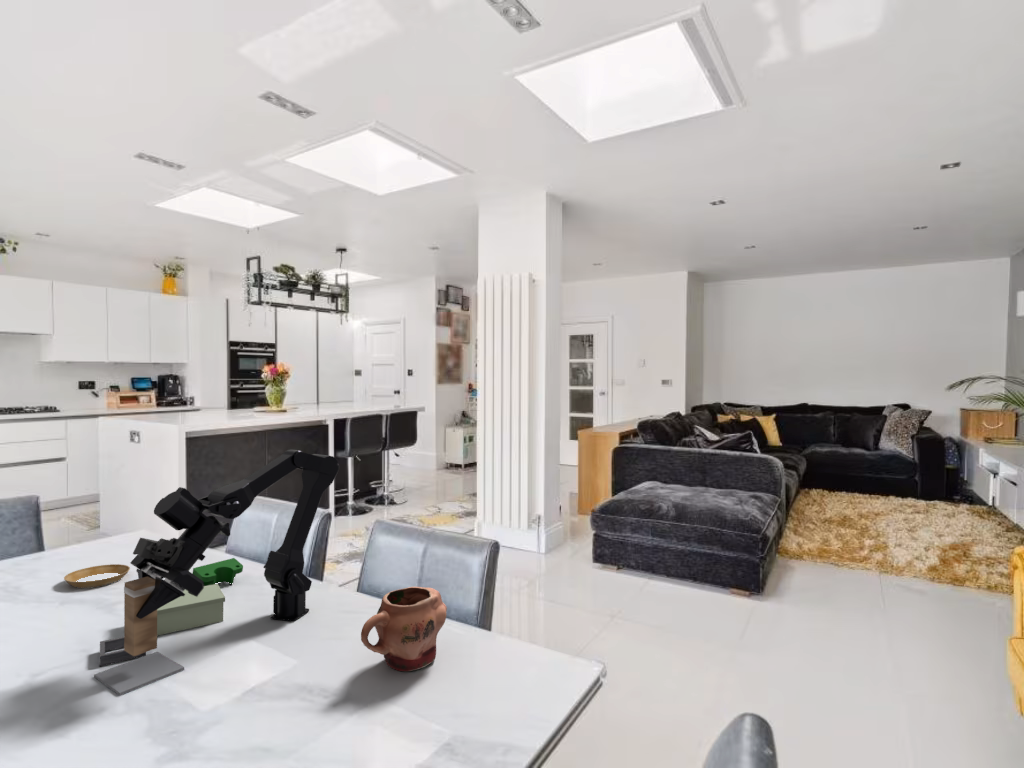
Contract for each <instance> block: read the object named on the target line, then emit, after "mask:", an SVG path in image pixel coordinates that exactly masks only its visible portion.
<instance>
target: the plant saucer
mask: <svg viewBox="0 0 1024 768" xmlns="http://www.w3.org/2000/svg"><path fill="white" fill-rule="evenodd" d="M130 569H131V568H130V566H129V565H126V564H119V563H118V564H113V563H112V564H111V563H110V564H101V565H94V566H90V567H85V568H81V569H78V570H74V571H72V572H70V573H67V574H66V575H65V576H64V577H63V580H64V581H65V582H66V583H68V584H69V585H70V586H71V587H74V588H76V587H78V589H92V588H91V587H93V588H98V587H97V586H100V587H103V586H102V585H105V586H108V585H107V584H109V585H111V584H110V583H112V584H114V583H113V582H115V583H117V582H119V581H121V580H122V579H123V578H124V577H125V576H126V575H127V574H128V572H129V571H130ZM104 573H118V574H120V575H118V576H114V577H111V578H107V579H102V580H95V581H86V582H78V581H77V580H79V579H81V578H85V577H88V576H92V575H97V574H104ZM121 578H122V579H121ZM118 580H119V581H118ZM76 581H77V582H76ZM116 581H117V582H116Z"/></svg>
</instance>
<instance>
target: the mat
mask: <svg viewBox="0 0 1024 768" xmlns="http://www.w3.org/2000/svg"><path fill="white" fill-rule="evenodd" d="M182 671H185V666H183V665H181V664H180V663H178V662H176V661H174V660H173V659H171V658H170V657H168V656H166V655H164V654H163V653H161V652H159V651H155V652H152V653H150V654H146V656H143V657H139V658H135V659H131V660H129V661H127V662H125V663H121V664H119V665H117V666H114V667H110V668H108V669H105V670H103V671H100V672H97V673H94V674H93V678H95V679H96V680H97V681H99V682H100V683H102V684H103V685H104V686H106V688H107V687H108V689H110V690H111V691H113V692H114V693H116V694H117V695H119V697H120V696H123V695H126V694H127V693H130V692H132V691H135V690H138V689H139V688H142V687H145V686H148V685H150V684H152V683H153V684H154V683H155V682H157V681H160V680H163V679H165V678H168V677H170V676H173V675H175V674H177V673H179V672H182Z"/></svg>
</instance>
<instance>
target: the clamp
mask: <svg viewBox="0 0 1024 768" xmlns="http://www.w3.org/2000/svg"><path fill="white" fill-rule="evenodd" d="M243 570H244V565H243V564H242V563H241V562H240V561H238V560H237V559H236V558H235V557H232V558H229V559H224V560H221V561H217V562H212V563H209V564H204V565H200V566H197V567H193V568H192V572H191V573H192V574H194V575H195V576H197V577H198V578H199V579H201V580H202V581H204V586H208V585H214V584H215V583H218V582H222V583H226V582H229V583H231V584H232V583H233V584H234V581H235V578H236V576H237V574H238V575H239V574H241V573H243ZM234 577H235V578H234ZM229 583H228V584H229Z"/></svg>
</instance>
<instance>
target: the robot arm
mask: <svg viewBox="0 0 1024 768" xmlns="http://www.w3.org/2000/svg"><path fill="white" fill-rule="evenodd" d="M297 469H298V470H302V472H301V480H302V489H301V492H300V494H299V496H298V498H299V499H298V501H297V502H296V503H297V504H296V505H295V506H296V507H295V509H294V512H293V514H292V516H291V519H290V522H289V526H288V528H287V530H286V533H285V535H284V538H283V542H282V544H281V546H280V547H279V548H277V550H276V551H274V550H270V551H269V553H268V556H267V561H266V563H265V564H264V565H263V566H262V567H263V569H264V572H263V576H264V577H265V580H266V581H267V582H268V583H269V585H270V588H271V589H273V590H274V595H273V605H272V606H273V607H272V608H273V614H272V615H270V619H271V620H278V621H279V620H280V621H285V622H286V621H288V622H296V621H297V620H299V618H301V617H303V616H304V615H305V614H307V613H309V612H310V608H307V607H306V600H307V599H306V598H307V597H306V596H307V595H306V594H307V592H308V591H310V589H311V587H312V582H313V581H312V580H311V579H310V578H308V577H307V576H306V575H305V574H304V573H303V572H304V567H305V557H304V556H305V555H304V548H305V545H306V542H307V539H308V536H309V534H310V531H311V527H312V525H313V523H314V522H313V521H314V519H315V516H316V514H317V510H318V508H319V505H320V502H321V499H322V496H323V494H324V492H325V491H326V490H327V489H328V488H329V487H330V486H331V485H332V484H333V482H334V481H335V478H336V477H337V474H338V472H339V470H340V464H339V462H338V459H337V458H336V457H334V456H332V455H325V454H320V453H319V454H318V453H313V454H310V453H307V452H303V451H302V450H297V449H287V450H284V452H283V453H282V454H281V455H279V456H278V457H276V458H274V459H273V460H272V461H270V462H268V463H267V464H265V465H264V466H262V467H260V468H259V469H258V470H256V471H253V473H251V474H250V475H249V476H248V475H247V476H246V477H245V478H244V479H241V480H238V481H236V482H233V483H229V484H226V485H224V486H221V487H219V488H217V489H214V490H213V491H211V492H210V493H209V494H208V495H207V496H203V497H200V498H196V497H195V496H194V495H193V494H192V493H191V492H190V491H189V490H188V489H187V488H186V487H182V486H180V487H177V489H176V490H175V491H173V492H171V493H168V494H167V495H166V496H164V497H162V498H161V499H160V500H159V501H158V502H157V504H155V507H154V508H153V514H154V515H155V516H157V517H158V518H159V519H161V520H162V521H163V522H164V523H166V524H168V525H169V526H170V527H172V528H173V529H175V531H182V530H184V531H183V532H182V533H181V534H180V536H179V537H178V538H176V537H172V538H170V539H164V538H163V537H162V538H160V539H159V540H154V539H149V538H145V537H139V540H138V541H137V544H136V546H135V548H134V550H133V552H132V554H133V555H136V556H135V557H134V558H133V559H132V560H131V562H129V563H130V565H132V566H134V567H135V568H136V573H137V576H138V577H137V579H140V578H143V577H147V576H148V577H150V578H152V579H155V588H154V590H153V591H152V593H151V594H150V596H149V597H148V598H147V600H146V601H145V603H144V604H143V606H142V607H141V608H140V610H139V612H138V613H137V615H136V617H138V618H140V619H142V618H143V617H145V616H147V615H149V614H150V613H152V612H154V611H155V610H157V609H159V608H160V607H162V606H164V605H166V604H167V603H169V602H171V601H173V600H175V599H177V598H179V597H181V596H184V595H185V594H184V593H183V591H184V590H187V591H188V593H189V594H191V595H194V596H196V597H197V596H198V595H199V594H200V592H201V591H202V590H203V588H204V581H202V580H201V579H199V578H198V577H197V576H195V575H194V574H192V573H193V572H191V571H190V570H191V569H192V567H194V565H195V564H196V562H198V561H201V562H203V561H204V560H205V558H206V555H204V553H205V552H206V550H207V549H208V548H209V547H210V546H211V544H212V543H213V542H214V541H215V540H216V538H217V537H218V535H222V536H226V537H230V536H231V529H230V523H229V522H226V521H221V520H219V519H218V518H217V517H220V518H223V519H228V520H229V519H230V520H233V519H234V520H235V519H236V518H238V517H240V516H241V515H242V514H243V513H244V512H245V511H247V510H248V508H250V507H251V506H252V504H253V502H254V501H255V499H256V498H257V497H258V496H259V495H260V494H261V493H263V492H264V491H266V490H267V489H269V488H270V487H272V486H273V485H275V484H276V483H277V482H279V481H280V480H282V479H283V478H284V477H286V476H288V475H289V474H291V473H292V472H293V471H295V470H297ZM203 512H204V513H209V514H211V515H205V514H204V513H203ZM215 516H216V517H215Z"/></svg>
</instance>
